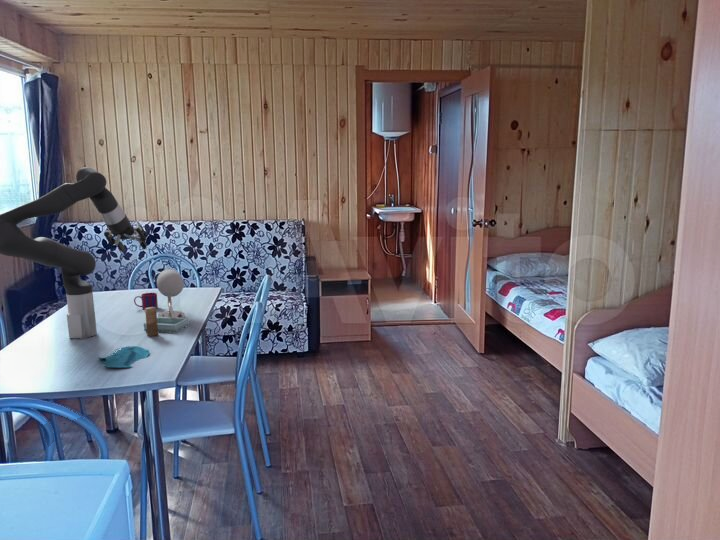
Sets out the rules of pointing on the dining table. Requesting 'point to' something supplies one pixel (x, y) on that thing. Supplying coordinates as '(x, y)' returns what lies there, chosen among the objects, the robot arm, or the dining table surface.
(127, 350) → the mineral
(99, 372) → the dining table surface
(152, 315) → the dowel
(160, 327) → the bin
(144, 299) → the mug
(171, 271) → the light fixture
